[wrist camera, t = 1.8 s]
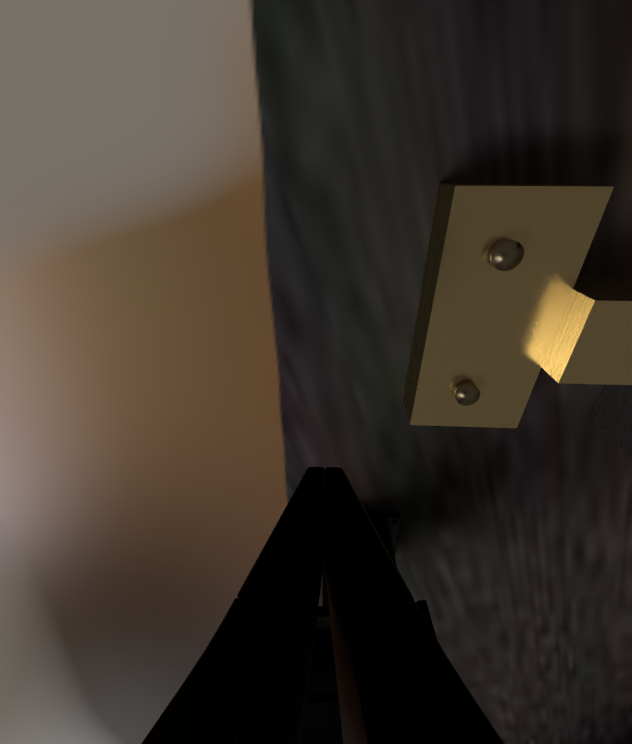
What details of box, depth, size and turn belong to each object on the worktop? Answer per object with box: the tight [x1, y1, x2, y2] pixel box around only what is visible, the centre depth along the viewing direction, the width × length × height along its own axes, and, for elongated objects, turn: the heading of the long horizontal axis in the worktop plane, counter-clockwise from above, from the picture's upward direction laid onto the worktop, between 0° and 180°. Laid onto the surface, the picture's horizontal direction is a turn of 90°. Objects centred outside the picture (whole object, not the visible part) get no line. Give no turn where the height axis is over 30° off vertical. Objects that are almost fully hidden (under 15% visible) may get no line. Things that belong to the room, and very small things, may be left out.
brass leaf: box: [403, 183, 632, 428], centre depth 17 cm, size 12×10×4 cm
